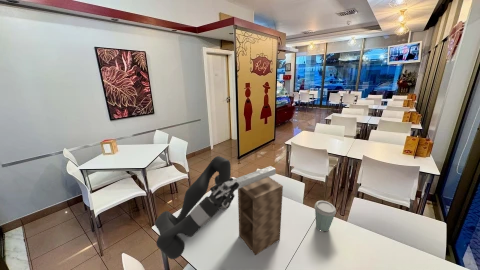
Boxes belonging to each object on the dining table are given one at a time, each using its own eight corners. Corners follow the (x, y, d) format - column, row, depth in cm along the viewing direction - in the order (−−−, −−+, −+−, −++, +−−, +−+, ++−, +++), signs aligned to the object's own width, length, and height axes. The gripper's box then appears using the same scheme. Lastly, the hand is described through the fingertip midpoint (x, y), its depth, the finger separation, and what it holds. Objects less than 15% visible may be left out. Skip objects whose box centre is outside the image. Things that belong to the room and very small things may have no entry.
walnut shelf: (255, 255, 92) (255, 197, 83) (239, 235, 104) (237, 183, 94) (279, 239, 101) (282, 185, 91) (262, 223, 112) (263, 173, 102)
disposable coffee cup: (329, 221, 112) (332, 199, 107) (336, 236, 102) (340, 212, 97) (310, 220, 113) (312, 198, 108) (315, 235, 103) (318, 211, 98)
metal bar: (228, 192, 80) (228, 186, 80) (224, 188, 83) (224, 182, 82) (275, 174, 94) (275, 168, 93) (270, 171, 97) (270, 165, 96)
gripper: (206, 216, 71) (240, 183, 76) (192, 197, 82) (223, 169, 87) (217, 226, 75) (248, 194, 80) (202, 206, 86) (231, 179, 91)
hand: (235, 181), depth 83 cm, fingers closed on metal bar, 3 cm apart
